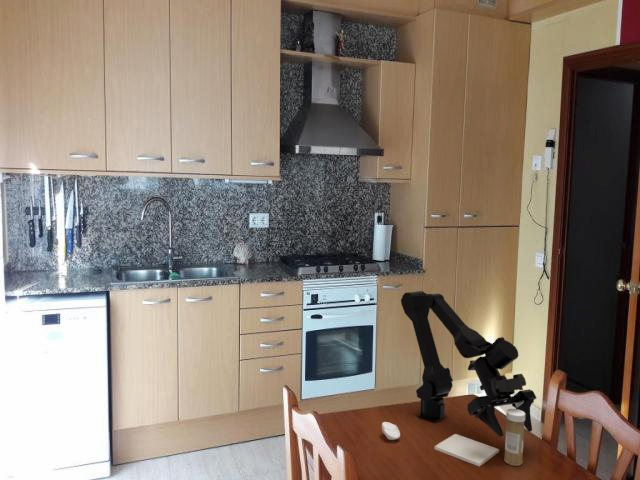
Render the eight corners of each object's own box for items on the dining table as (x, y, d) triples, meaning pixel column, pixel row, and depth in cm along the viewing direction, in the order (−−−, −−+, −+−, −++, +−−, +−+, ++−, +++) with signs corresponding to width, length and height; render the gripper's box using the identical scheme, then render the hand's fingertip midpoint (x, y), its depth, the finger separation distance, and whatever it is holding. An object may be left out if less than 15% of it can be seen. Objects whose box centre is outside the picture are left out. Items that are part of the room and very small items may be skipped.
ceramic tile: (434, 449, 148) (434, 446, 148) (455, 436, 156) (455, 433, 156) (479, 466, 139) (479, 463, 139) (498, 452, 147) (499, 449, 147)
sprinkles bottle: (526, 463, 141) (529, 412, 140) (514, 468, 139) (517, 416, 138) (511, 456, 145) (514, 406, 144) (499, 460, 143) (502, 410, 141)
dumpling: (379, 432, 157) (380, 419, 157) (397, 432, 158) (398, 419, 157) (384, 444, 150) (384, 430, 150) (402, 444, 151) (403, 430, 150)
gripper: (476, 366, 141) (503, 426, 131) (533, 360, 148) (563, 415, 138) (456, 386, 149) (480, 443, 139) (511, 379, 156) (538, 433, 146)
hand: (516, 433), depth 141 cm, fingers open, 9 cm apart
